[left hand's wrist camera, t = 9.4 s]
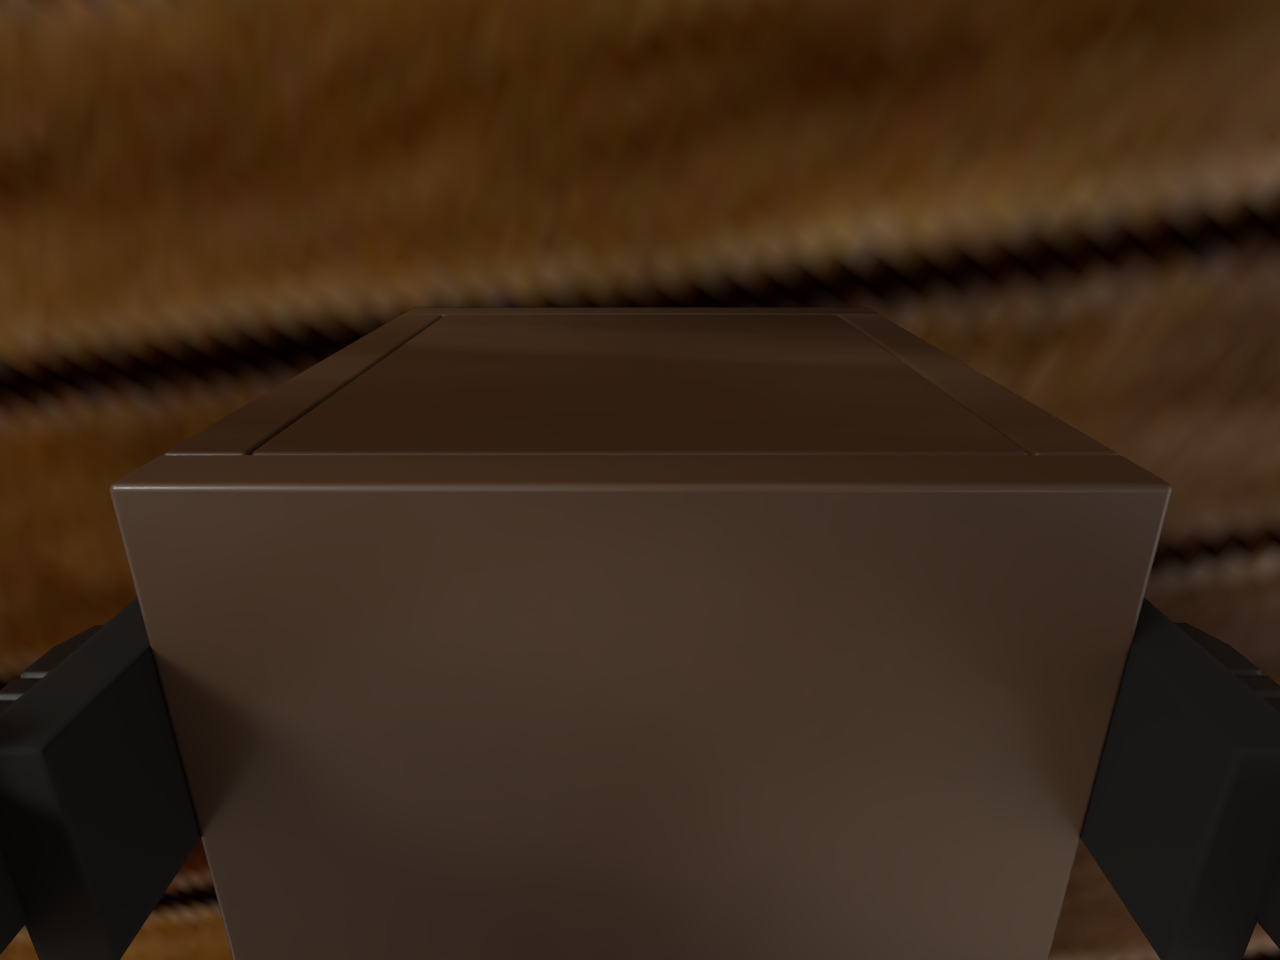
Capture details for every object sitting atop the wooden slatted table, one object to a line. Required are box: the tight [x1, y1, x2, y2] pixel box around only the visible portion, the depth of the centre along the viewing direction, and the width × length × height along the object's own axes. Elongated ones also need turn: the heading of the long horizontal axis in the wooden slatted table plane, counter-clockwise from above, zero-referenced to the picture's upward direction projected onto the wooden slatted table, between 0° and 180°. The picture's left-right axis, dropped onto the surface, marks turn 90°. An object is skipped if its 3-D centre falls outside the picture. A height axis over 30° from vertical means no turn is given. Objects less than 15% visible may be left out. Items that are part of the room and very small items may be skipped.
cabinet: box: [110, 308, 1172, 960], centre depth 16 cm, size 16×11×11 cm, turn 0°
